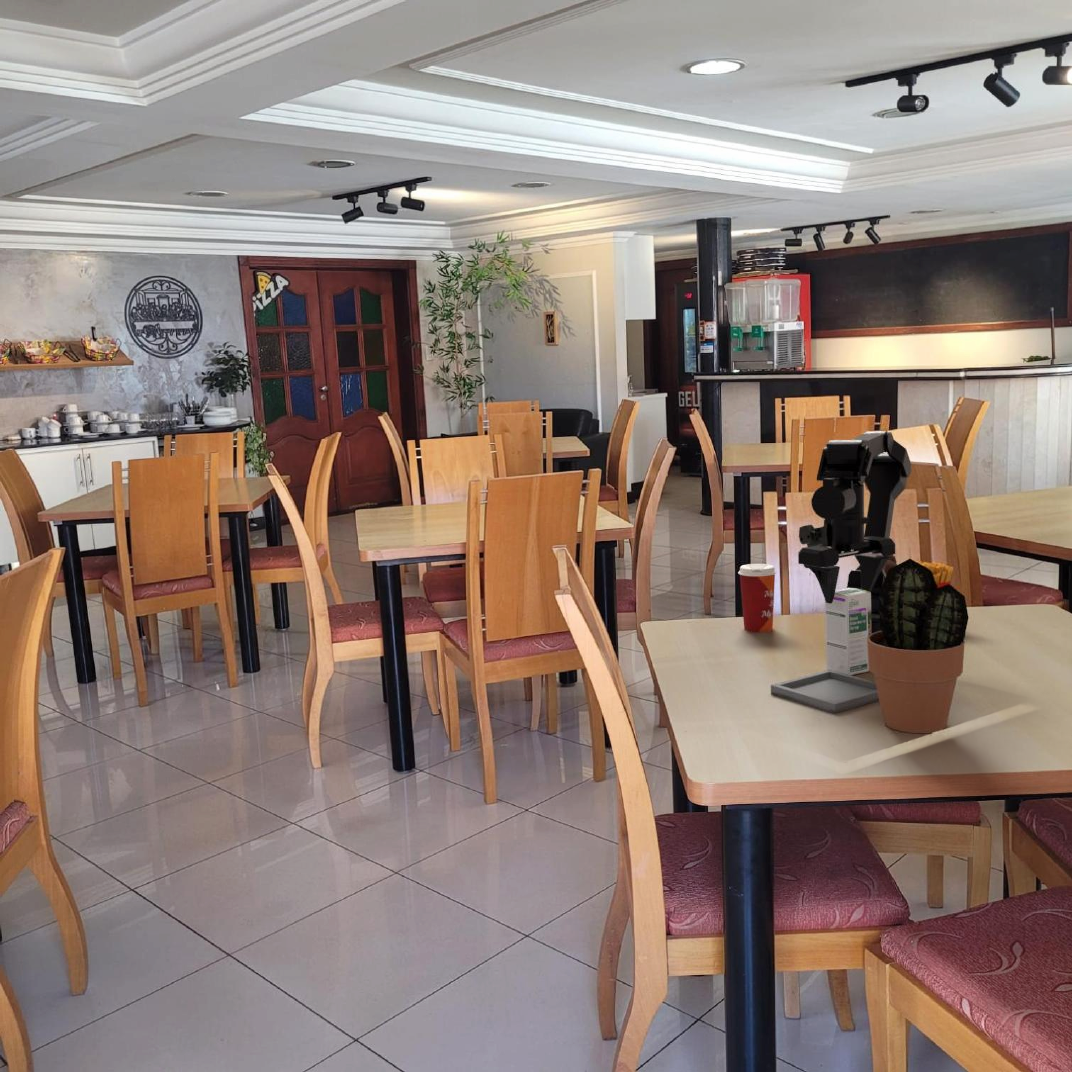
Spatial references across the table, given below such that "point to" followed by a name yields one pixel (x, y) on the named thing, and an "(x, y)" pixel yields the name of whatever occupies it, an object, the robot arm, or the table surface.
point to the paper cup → (757, 596)
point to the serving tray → (828, 691)
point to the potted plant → (917, 648)
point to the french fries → (937, 567)
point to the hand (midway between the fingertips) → (847, 599)
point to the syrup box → (848, 631)
